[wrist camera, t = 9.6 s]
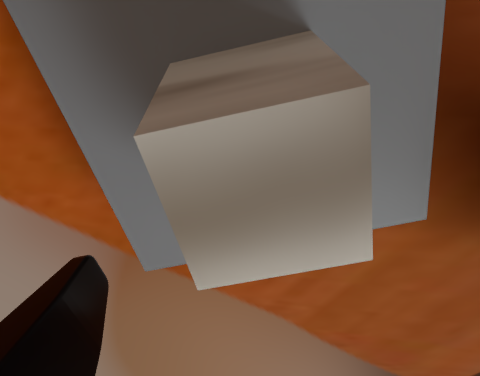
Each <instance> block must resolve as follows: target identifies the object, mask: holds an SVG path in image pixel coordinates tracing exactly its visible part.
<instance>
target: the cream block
mask: <svg viewBox="0 0 480 376" xmlns="http://www.w3.org/2000/svg"><path fill="white" fill-rule="evenodd" d="M133 137H134V139H135V141H136V144H137V146H138V149H139V151H140V153H141V156H142V158H143V160H144V163H145V165H146V168H147V170H148V172H149V175H150V177H151V179H152V182H153V184H154V187H155V189H156V191H157V194H158V196H159V199H160V201H161V203H162V206H163V208H164V210H165V213H166V215H167V218H168V220H169V222H170V225H171V227H172V230H173V232H174V234H175V237H176V239H177V241H178V244H179V246H180V249H181V251H182V253H183V256H184V258H185V261H186V263H187V265H188V268H189V270H190V272H191V275H192V277H193V280H194V282H195V284H196V287H197V289H198V290H203V289H209V288H215V287H221V286H226V285H232V284H238V283H243V282H249V281H255V280H261V279H266V278H272V277H278V276H283V275H289V274H295V273H301V272H306V271H312V270H318V269H323V268H329V267H335V266H341V265H346V264H352V263H358V262H364V261H369V260H373V240H372V171H371V102H370V84H369V83H368V82H367V81H366V80H365V79H364V78H363V77H361V76H360V75H359V74H358V73H357V72H356V71H355V70H354V69H353V68H352V67H351V66H349V65H348V64H347V63H346V62H345V61H344V60H343V59H342V58H341V57H340V56H339V55H337V54H336V53H335V52H334V51H333V50H332V49H331V48H330V47H329V46H328V45H326V44H325V43H324V42H323V41H322V40H321V39H320V38H319V37H318V36H317V35H316V34H314V33H313V32H312V31H311V30H310V31H306V32H301V33H297V34H293V35H289V36H284V37H280V38H276V39H272V40H268V41H263V42H259V43H255V44H251V45H246V46H242V47H238V48H234V49H229V50H225V51H221V52H217V53H212V54H208V55H204V56H200V57H195V58H191V59H187V60H183V61H178V62H174V63H170V65H169V67H168V69H167V71H166V73H165V75H164V77H163V79H162V81H161V82H160V84H159V86H158V88H157V90H156V92H155V94H154V96H153V98H152V100H151V102H150V104H149V106H148V108H147V110H146V112H145V114H144V116H143V118H142V120H141V122H140V124H139V126H138V128H137V130H136V132H135V134H134V136H133Z"/></svg>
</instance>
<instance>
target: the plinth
mask: <svg viewBox="0 0 480 376" xmlns="http://www.w3.org/2000/svg"><path fill="white" fill-rule="evenodd" d="M3 1H4V3H5V5H6V7H7V9H8V11H9V13H10V15H11V16H12V18H13V20H14V22H15V24H16V26H17V28H18V30H19V32H20V34H21V36H22V37H23V39H24V41H25V43H26V45H27V47H28V49H29V51H30V53H31V55H32V56H33V58H34V60H35V62H36V64H37V66H38V68H39V70H40V72H41V74H42V76H43V77H44V79H45V81H46V83H47V85H48V87H49V89H50V91H51V93H52V95H53V96H54V98H55V100H56V102H57V104H58V106H59V108H60V110H61V112H62V114H63V116H64V117H65V119H66V121H67V123H68V125H69V127H70V129H71V131H72V133H73V135H74V136H75V138H76V140H77V142H78V144H79V146H80V148H81V150H82V152H83V154H84V155H85V157H86V159H87V161H88V163H89V165H90V167H91V169H92V171H93V173H94V175H95V176H96V178H97V180H98V182H99V184H100V186H101V188H102V190H103V192H104V194H105V195H106V197H107V199H108V201H109V203H110V205H111V207H112V209H113V211H114V213H115V215H116V216H117V218H118V220H119V222H120V224H121V226H122V228H123V230H124V232H125V234H126V235H127V237H128V239H129V241H130V243H131V245H132V247H133V249H134V251H135V253H136V254H137V256H138V258H139V260H140V262H141V264H142V266H143V268H144V270H145V271H150V270H155V269H161V268H167V267H172V266H177V265H183V264H187V263H186V261H185V258H184V256H183V253H182V251H181V249H180V246H179V244H178V241H177V239H176V237H175V234H174V232H173V230H172V227H171V225H170V222H169V220H168V218H167V215H166V213H165V210H164V208H163V206H162V203H161V201H160V199H159V196H158V194H157V191H156V189H155V187H154V184H153V182H152V179H151V177H150V175H149V172H148V170H147V168H146V165H145V163H144V160H143V158H142V156H141V153H140V151H139V149H138V146H137V144H136V141H135V139H134V137H133V136H134V134H135V132H136V130H137V128H138V126H139V124H140V122H141V120H142V118H143V116H144V114H145V112H146V110H147V108H148V106H149V104H150V102H151V100H152V98H153V96H154V94H155V92H156V90H157V88H158V86H159V84H160V82H161V81H162V79H163V77H164V75H165V73H166V71H167V69H168V67H169V65H170V63H174V62H178V61H183V60H187V59H191V58H195V57H200V56H204V55H208V54H212V53H217V52H221V51H225V50H229V49H234V48H238V47H242V46H246V45H251V44H255V43H259V42H263V41H268V40H272V39H276V38H280V37H284V36H289V35H293V34H297V33H301V32H306V31H310V30H311V31H312V32H313V33H314V34H316V35H317V36H318V37H319V38H320V39H321V40H322V41H323V42H324V43H325V44H326V45H328V46H329V47H330V48H331V49H332V50H333V51H334V52H335V53H336V54H337V55H339V56H340V57H341V58H342V59H343V60H344V61H345V62H346V63H347V64H348V65H349V66H351V67H352V68H353V69H354V70H355V71H356V72H357V73H358V74H359V75H360V76H361V77H363V78H364V79H365V80H366V81H367V82H368V83H369V84H370V102H371V171H372V229H377V228H382V227H387V226H393V225H398V224H403V223H409V222H414V221H420V220H425V219H427V208H428V197H429V186H430V174H431V163H432V151H433V140H434V128H435V117H436V106H437V94H438V83H439V71H440V60H441V49H442V37H443V26H444V14H445V3H446V0H3Z"/></svg>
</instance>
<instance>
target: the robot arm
mask: <svg viewBox="0 0 480 376" xmlns="http://www.w3.org/2000/svg"><path fill="white" fill-rule="evenodd" d="M107 297H108V280H107V278H106V276H105V274H104V273H103V271H102V269H101V268H100V266H99V265H98V263H97V261H96V260H95V259H94V257H92V256H91V255H86V256H80V257H76V258H73V259H72V260H70V261H69V262H68V263H67V264H66V265H65V266H63V267H62V268H61V269H60V270H59V271H58V272H57V273H56V274H54V275H53V276H52V277H51V278H50V279H49V280H48V281H46V282H45V283H44V284H43V285H42V286H41V287H40V288H39V289H37V290H36V291H35V292H34V293H33V294H32V295H31V296H29V297H28V298H27V299H26V300H25V301H24V302H23V303H21V304H20V305H19V306H18V307H17V308H16V309H15V310H14V311H12V312H11V313H10V314H9V315H8V316H7V317H6V318H4V319H3V320H2V321H1V322H0V376H95V373H96V369H97V365H98V360H99V355H100V350H101V345H102V338H103V330H104V321H105V313H106V305H107Z"/></svg>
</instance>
